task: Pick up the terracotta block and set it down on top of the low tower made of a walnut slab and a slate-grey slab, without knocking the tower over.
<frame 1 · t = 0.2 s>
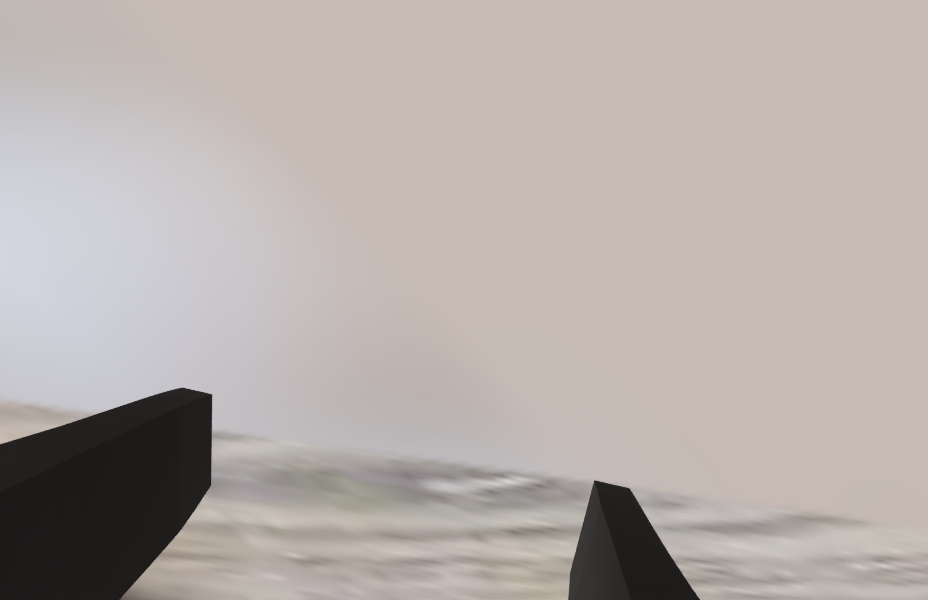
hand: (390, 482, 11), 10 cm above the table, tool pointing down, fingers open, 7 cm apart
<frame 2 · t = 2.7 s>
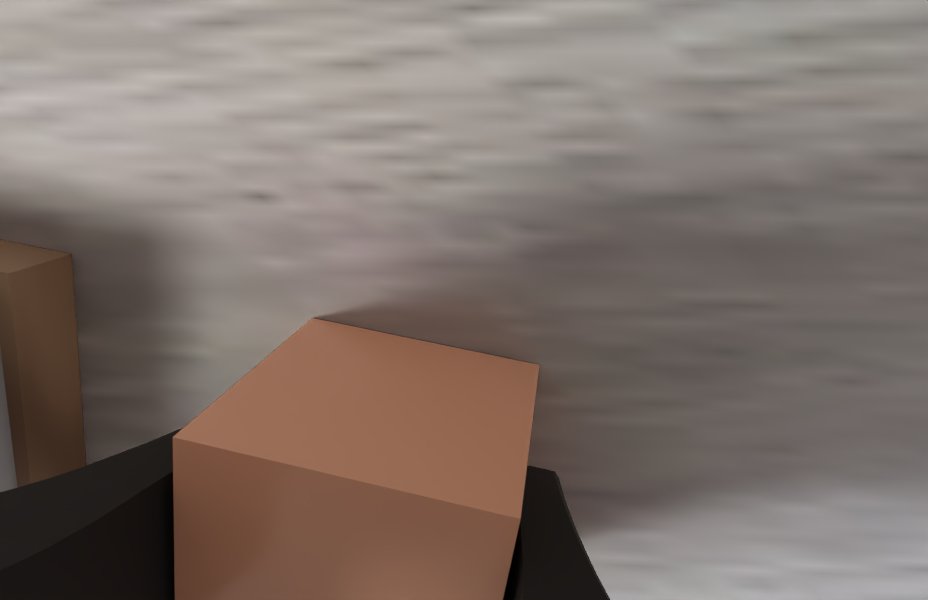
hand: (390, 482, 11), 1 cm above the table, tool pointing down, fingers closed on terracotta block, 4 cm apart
terracotta block: (409, 441, 13), on the table, touching gripper
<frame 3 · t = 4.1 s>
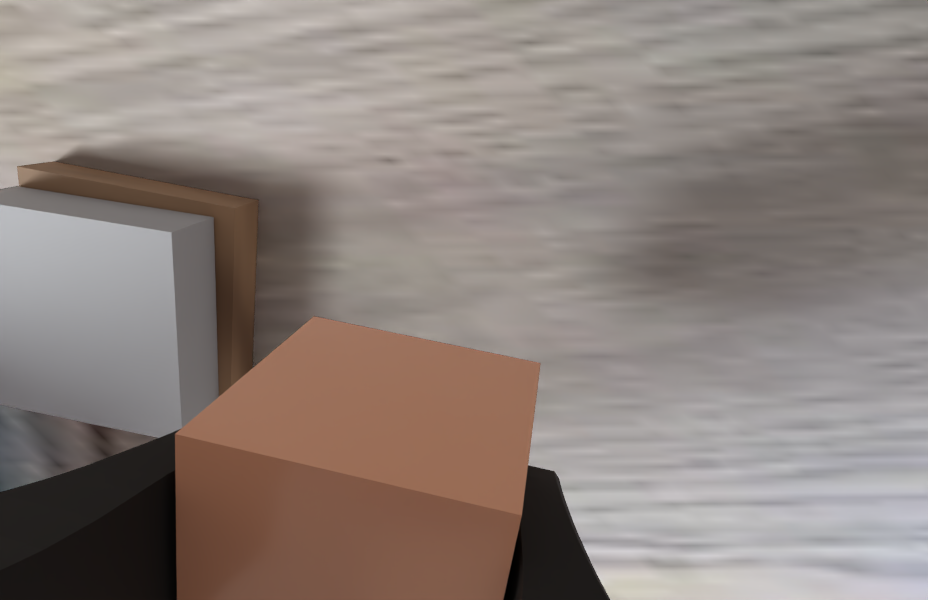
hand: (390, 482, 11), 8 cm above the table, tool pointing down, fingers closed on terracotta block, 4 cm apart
walnut slab: (167, 279, 21), on the table
slate slab: (121, 302, 19), point 1 cm above the table
terracotta block: (410, 439, 13), point 7 cm above the table, touching gripper
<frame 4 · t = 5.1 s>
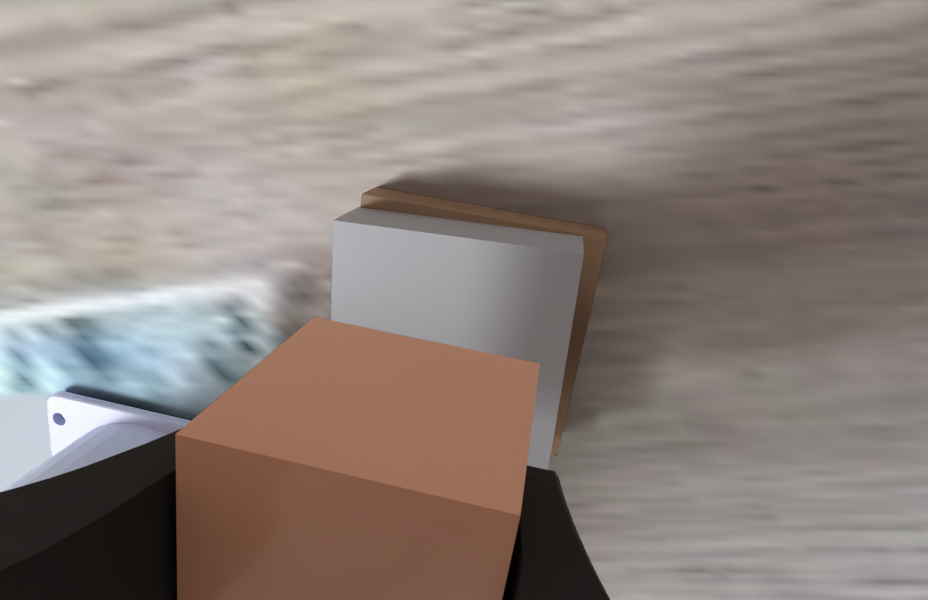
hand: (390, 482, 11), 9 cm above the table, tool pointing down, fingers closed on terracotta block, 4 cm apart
walnut slab: (473, 308, 20), on the table, touching slate slab
slate slab: (457, 326, 18), point 1 cm above the table, touching walnut slab
terracotta block: (410, 439, 13), point 7 cm above the table, touching gripper
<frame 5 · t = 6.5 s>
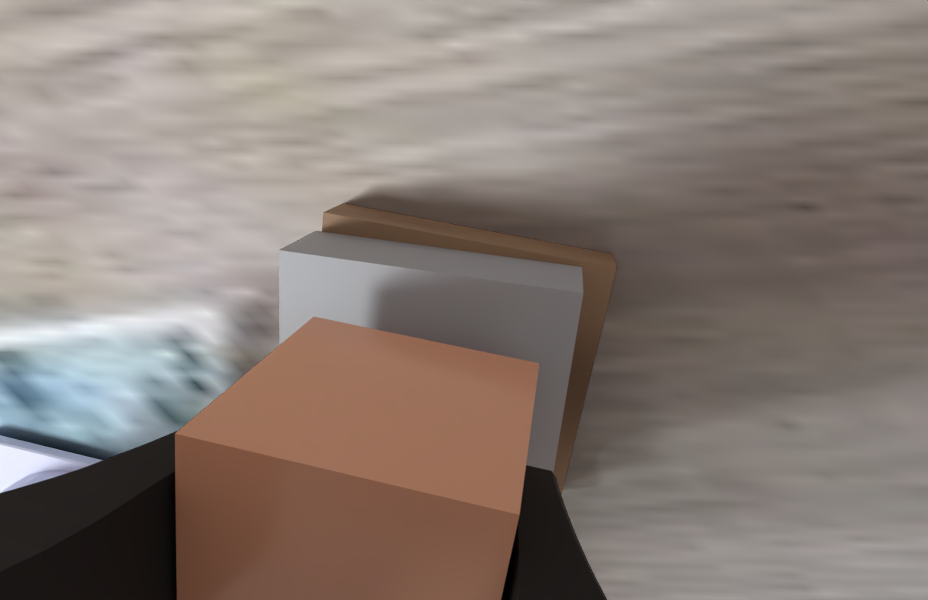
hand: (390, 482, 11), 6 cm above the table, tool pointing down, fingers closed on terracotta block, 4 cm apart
walnut slab: (459, 343, 17), on the table, touching slate slab
slate slab: (434, 371, 16), point 1 cm above the table, touching walnut slab
terracotta block: (410, 439, 13), point 4 cm above the table, touching gripper
when the fingers open (6 cm above the table, at t = 6.6 s): terracotta block stays where it is, resting on slate slab.
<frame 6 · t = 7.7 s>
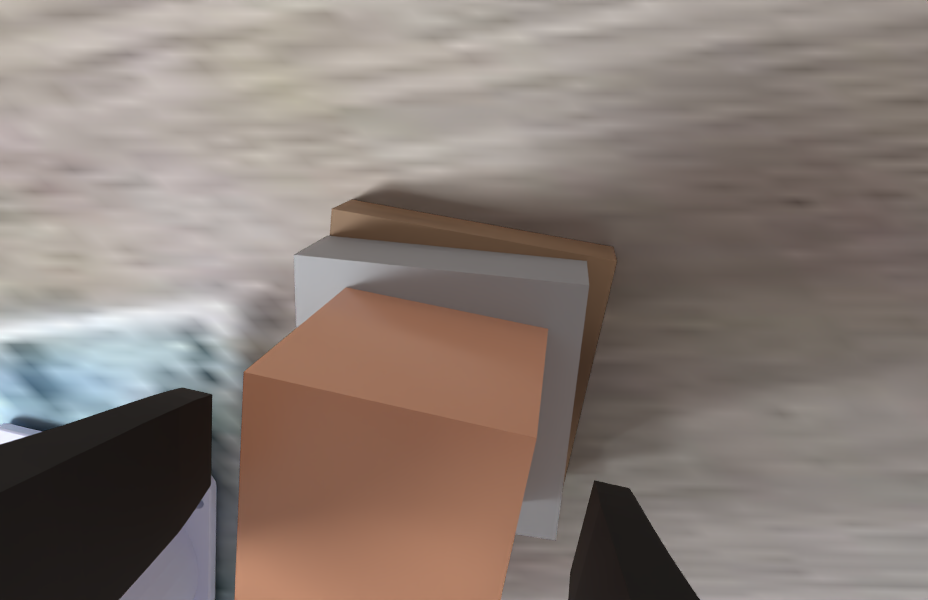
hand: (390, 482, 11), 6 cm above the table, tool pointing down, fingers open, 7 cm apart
walnut slab: (463, 336, 18), on the table, touching slate slab
slate slab: (446, 367, 16), point 1 cm above the table, touching terracotta block, walnut slab
terracotta block: (431, 399, 14), point 3 cm above the table, touching slate slab
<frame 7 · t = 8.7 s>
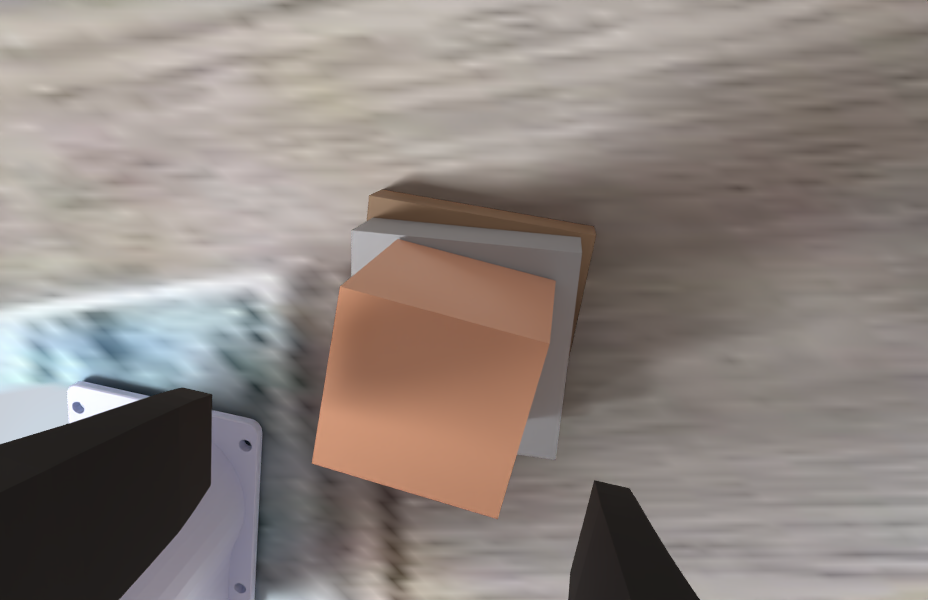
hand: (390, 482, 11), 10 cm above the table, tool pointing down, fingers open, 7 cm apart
walnut slab: (472, 302, 22), on the table, touching slate slab
slate slab: (467, 325, 20), point 1 cm above the table, touching walnut slab
terracotta block: (458, 332, 18), point 3 cm above the table
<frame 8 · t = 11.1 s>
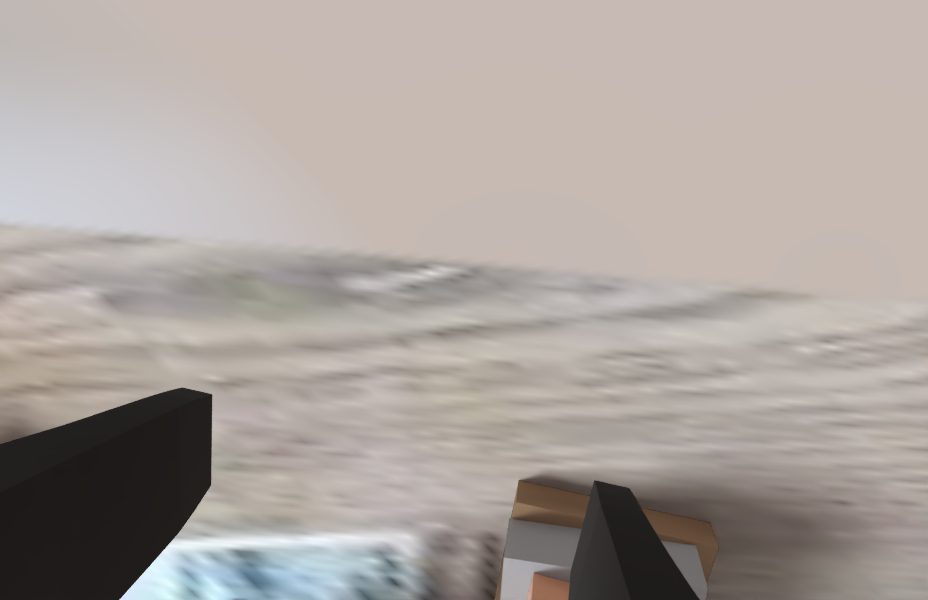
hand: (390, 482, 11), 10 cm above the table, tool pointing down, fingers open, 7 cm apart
walnut slab: (592, 563, 24), on the table, touching slate slab
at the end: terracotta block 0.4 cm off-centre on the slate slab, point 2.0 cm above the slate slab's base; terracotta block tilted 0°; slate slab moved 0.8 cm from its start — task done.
